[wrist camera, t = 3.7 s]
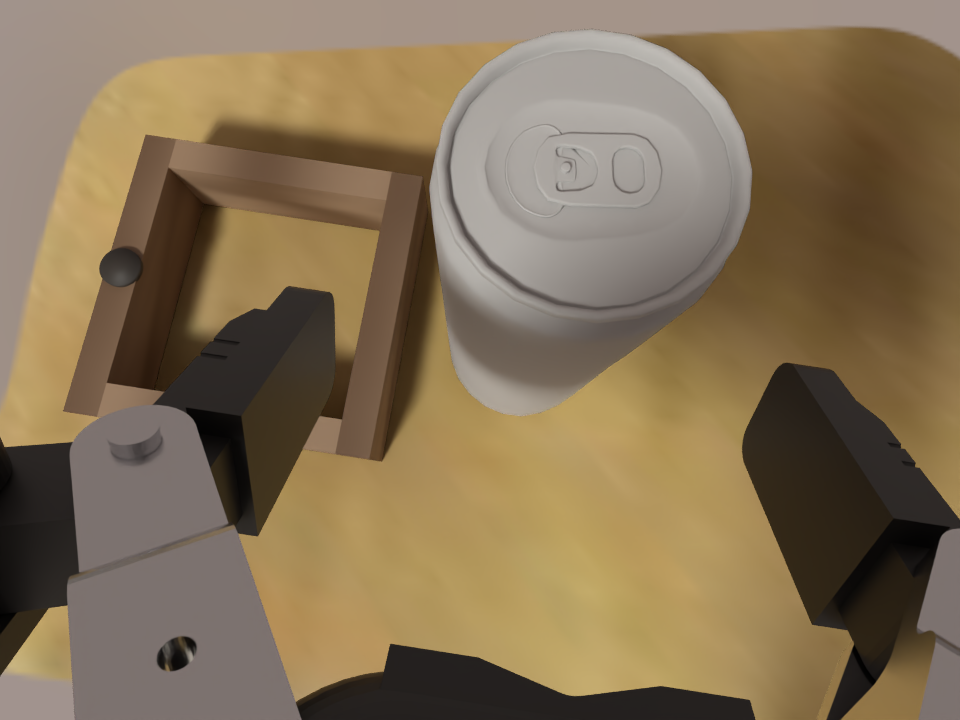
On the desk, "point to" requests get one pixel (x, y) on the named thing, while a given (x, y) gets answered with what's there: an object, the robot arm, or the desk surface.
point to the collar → (165, 253)
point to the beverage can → (579, 210)
